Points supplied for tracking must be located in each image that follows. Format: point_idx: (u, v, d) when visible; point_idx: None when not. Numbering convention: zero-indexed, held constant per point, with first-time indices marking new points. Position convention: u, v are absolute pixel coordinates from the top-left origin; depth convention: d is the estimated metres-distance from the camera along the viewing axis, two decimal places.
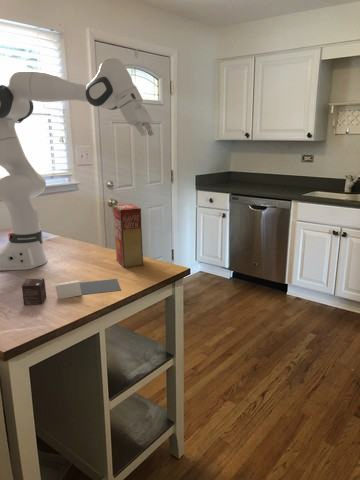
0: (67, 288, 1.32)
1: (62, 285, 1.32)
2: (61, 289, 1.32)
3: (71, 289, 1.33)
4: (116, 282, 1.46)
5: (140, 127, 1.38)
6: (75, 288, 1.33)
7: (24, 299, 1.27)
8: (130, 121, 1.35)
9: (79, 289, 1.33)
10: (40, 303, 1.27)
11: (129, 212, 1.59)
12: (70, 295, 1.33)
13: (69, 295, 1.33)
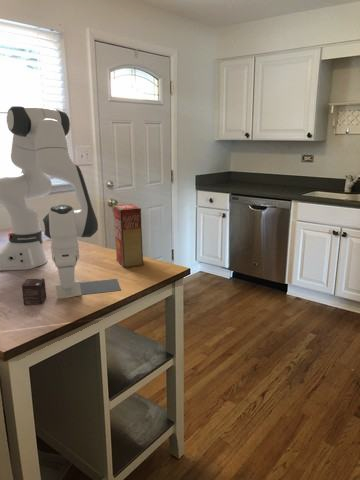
0: None
1: None
2: (61, 289, 1.32)
3: (71, 289, 1.33)
4: (116, 282, 1.46)
5: None
6: (75, 288, 1.33)
7: (24, 299, 1.27)
8: (65, 287, 1.23)
9: (79, 289, 1.34)
10: (40, 303, 1.27)
11: (129, 212, 1.59)
12: (70, 295, 1.33)
13: (69, 295, 1.33)
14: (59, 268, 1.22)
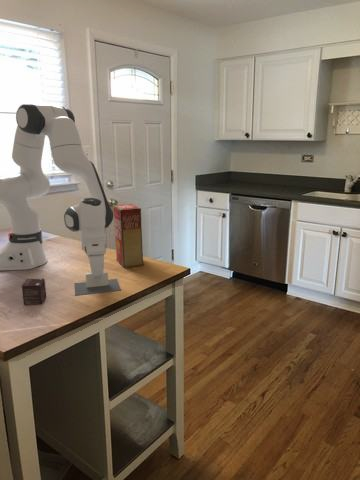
0: None
1: None
2: (90, 278, 1.41)
3: (100, 279, 1.42)
4: (116, 282, 1.46)
5: (98, 276, 1.38)
6: (103, 278, 1.42)
7: (24, 299, 1.27)
8: (95, 274, 1.32)
9: (107, 279, 1.43)
10: (40, 303, 1.27)
11: (129, 212, 1.59)
12: (98, 284, 1.42)
13: (97, 284, 1.42)
14: (90, 256, 1.31)
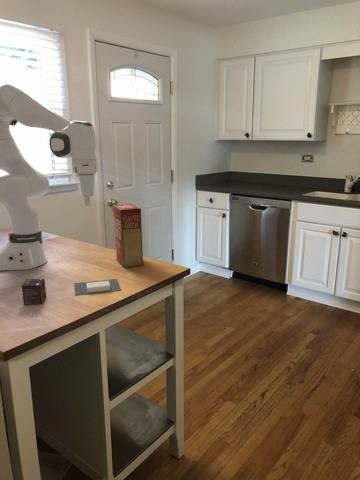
0: None
1: (93, 291, 1.38)
2: None
3: None
4: (116, 282, 1.46)
5: (88, 198, 1.41)
6: None
7: (24, 299, 1.27)
8: (85, 193, 1.33)
9: None
10: (40, 303, 1.27)
11: (129, 212, 1.59)
12: None
13: None
14: (80, 175, 1.32)
